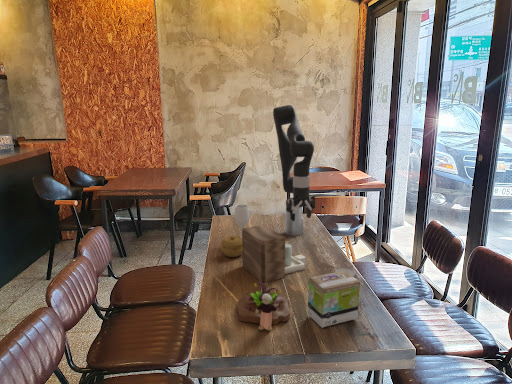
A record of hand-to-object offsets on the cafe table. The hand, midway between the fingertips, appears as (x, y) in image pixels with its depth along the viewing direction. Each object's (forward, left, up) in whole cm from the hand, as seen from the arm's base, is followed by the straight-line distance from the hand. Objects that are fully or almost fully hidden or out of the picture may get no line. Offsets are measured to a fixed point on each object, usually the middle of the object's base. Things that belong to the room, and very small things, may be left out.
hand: (300, 219), depth 174 cm
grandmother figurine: (+40, +40, -22) cm, 60 cm away
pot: (+24, -24, -22) cm, 40 cm away
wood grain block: (+20, 0, -22) cm, 30 cm away
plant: (+36, +28, -22) cm, 51 cm away
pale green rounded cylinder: (+8, 0, -21) cm, 22 cm away
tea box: (+16, +44, -22) cm, 52 cm away
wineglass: (+13, -36, -22) cm, 44 cm away
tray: (+8, 0, -22) cm, 23 cm away
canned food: (+4, +37, -22) cm, 43 cm away
